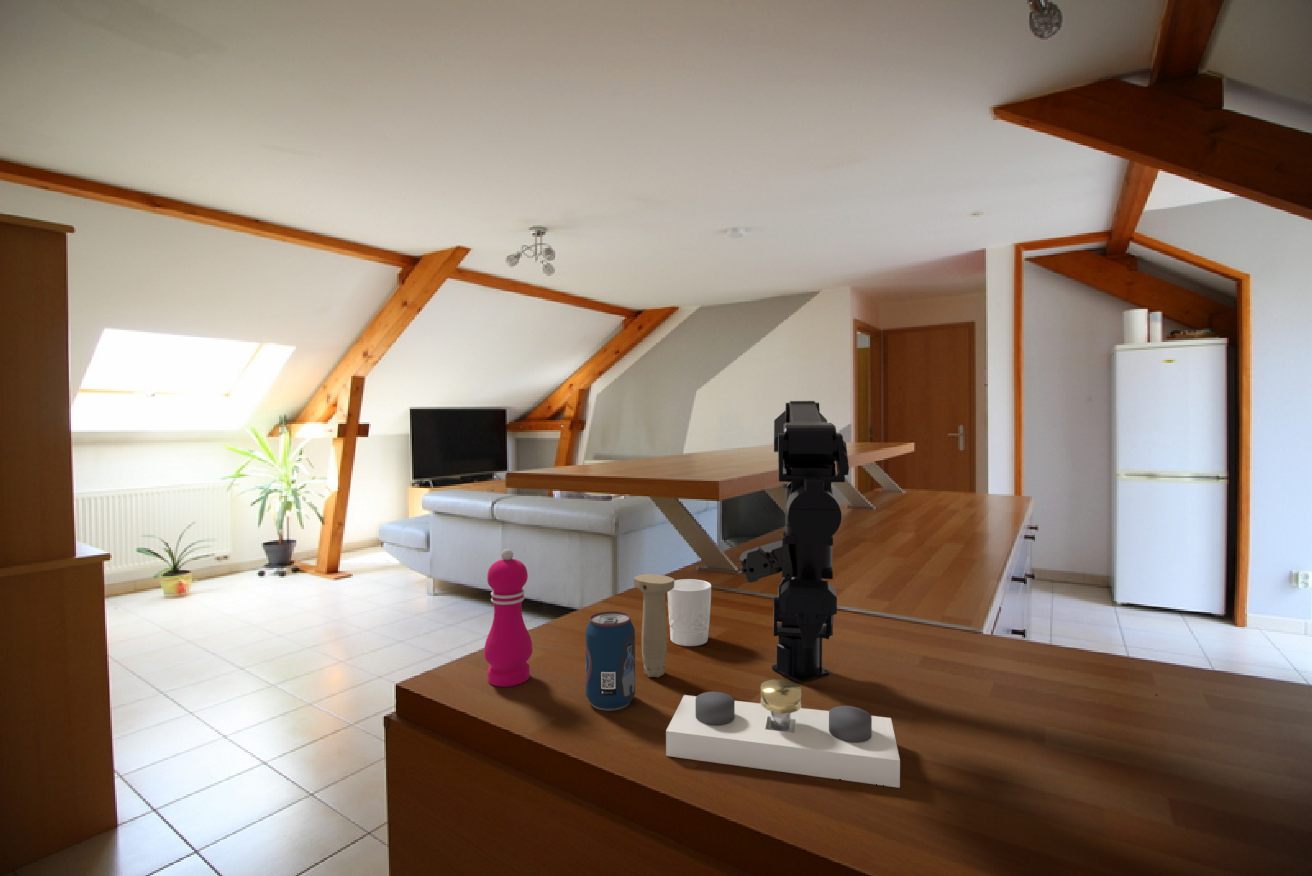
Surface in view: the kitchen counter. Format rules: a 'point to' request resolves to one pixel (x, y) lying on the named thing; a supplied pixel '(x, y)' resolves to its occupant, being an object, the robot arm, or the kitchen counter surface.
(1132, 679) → the kitchen counter surface
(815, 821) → the kitchen counter surface
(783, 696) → the knob middle
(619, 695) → the soda can
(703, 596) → the white cup
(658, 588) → the handle
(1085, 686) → the kitchen counter surface
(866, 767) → the control plate
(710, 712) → the knob
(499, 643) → the pepper mill
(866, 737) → the knob
